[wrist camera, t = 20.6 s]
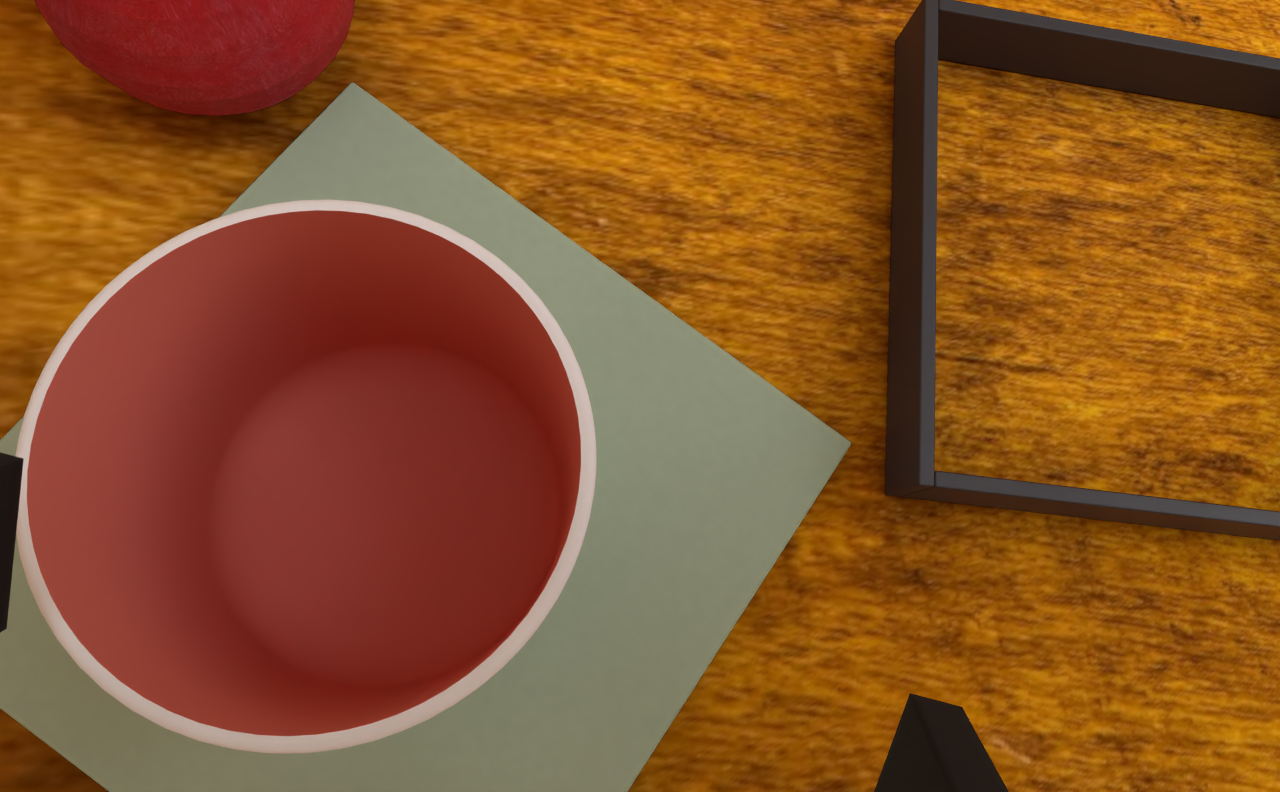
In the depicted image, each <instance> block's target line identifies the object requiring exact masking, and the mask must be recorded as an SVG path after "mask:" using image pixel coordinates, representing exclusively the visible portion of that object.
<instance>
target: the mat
mask: <svg viewBox="0 0 1280 792" xmlns="http://www.w3.org/2000/svg"><path fill="white" fill-rule="evenodd" d="M298 200H344V201H359V202H365V203H371V204H376V205H382V206H388V207H392V208H396V209H399V210H403V211H406V212H410V213H413V214H417V215H420V216H423V217H425V218H427V219H430V220H432V221H435V222H437V223H440V224H442V225H445V226H447V227H449V228H451V229H453V230H455V231H457V232H458V233H460V234H462V235H464V236H466V237H468V238H469V239H471V240H473V241H475V242H476V243H478V244H479V245H481V246H482V247H483V248H485V249H486V250H488V251H489V252H491V253H492V254H494V255H495V256H496V257H498V258H499V259H500V260H501V261H503V262H504V263H505V264H506V265H507V266H508V267H509V268H511V269H512V270H513V271H514V272H515V273H516V274H517V275H519V276H520V277H521V278H522V279H523V280H524V281H525V283H526V284H527V285H528V286H529V287H530V288H531V289H532V290H533V291H534V292H535V294H536V295H537V296H538V297H539V298H540V299H541V301H542V302H543V303H544V305H545V306H546V307H547V309H548V310H549V311H550V313H551V314H552V316H553V317H554V318H555V320H556V321H557V323H558V325H559V326H560V328H561V330H562V332H563V333H564V335H565V337H566V339H567V341H568V342H569V344H570V346H571V348H572V351H573V353H574V355H575V358H576V360H577V362H578V365H579V367H580V369H581V372H582V376H583V379H584V382H585V385H586V388H587V391H588V395H589V399H590V404H591V408H592V413H593V420H594V427H595V436H596V480H595V491H594V498H593V503H592V509H591V514H590V519H589V523H588V526H587V530H586V534H585V537H584V541H583V544H582V547H581V550H580V552H579V555H578V557H577V560H576V563H575V565H574V567H573V570H572V572H571V574H570V576H569V578H568V580H567V582H566V584H565V586H564V588H563V590H562V592H561V594H560V596H559V597H558V599H557V601H556V602H555V604H554V606H553V607H552V609H551V610H550V612H549V613H548V615H547V616H546V618H545V619H544V621H543V622H542V624H541V625H540V626H539V628H538V629H537V630H536V631H535V633H534V634H533V635H532V636H531V638H530V639H529V640H528V641H527V642H526V644H525V645H524V646H523V647H522V648H521V649H520V650H519V651H518V652H517V653H516V654H515V655H514V657H513V658H512V659H511V660H510V661H509V662H508V663H507V664H506V665H505V666H504V667H503V668H502V669H501V670H499V671H498V672H497V673H496V674H495V675H493V676H492V677H491V678H490V679H489V680H488V681H486V682H485V683H484V684H483V685H482V686H480V687H479V688H478V689H476V690H475V691H474V692H472V693H471V694H469V695H468V696H467V697H465V698H464V699H462V700H461V701H459V702H458V703H456V704H455V705H453V706H451V707H450V708H448V709H446V710H444V711H443V712H441V713H439V714H437V715H436V716H434V717H432V718H430V719H428V720H426V721H424V722H422V723H419V724H417V725H415V726H413V727H411V728H409V729H406V730H404V731H401V732H399V733H396V734H393V735H390V736H387V737H384V738H382V739H379V740H376V741H372V742H368V743H364V744H360V745H356V746H352V747H348V748H343V749H337V750H329V751H322V752H313V753H296V754H270V753H258V752H250V751H242V750H234V749H230V748H225V747H221V746H217V745H213V744H209V743H204V742H200V741H197V740H195V739H192V738H189V737H187V736H184V735H181V734H179V733H176V732H173V731H171V730H168V729H165V728H163V727H162V726H160V725H158V724H156V723H154V722H152V721H150V720H148V719H147V718H145V717H143V716H141V715H139V714H137V713H135V712H134V711H132V710H131V709H129V708H128V707H126V706H125V705H124V704H122V703H121V702H120V701H118V700H117V699H115V698H114V697H113V696H111V695H110V694H108V693H107V692H106V691H104V690H103V689H102V688H101V687H100V686H99V685H98V684H97V683H96V682H95V681H94V680H93V679H92V678H91V677H89V676H88V675H87V674H86V673H85V672H84V671H83V670H82V669H81V668H80V667H79V666H78V665H77V664H76V662H75V661H74V660H73V659H72V657H71V656H70V655H69V654H68V652H67V651H66V650H65V649H64V647H63V646H62V645H61V644H60V642H59V641H58V640H57V638H56V636H55V635H54V633H53V631H52V630H51V628H50V627H49V625H48V623H47V622H46V620H45V618H44V617H43V615H42V613H41V612H40V609H39V607H38V605H37V602H36V600H35V598H34V596H33V593H32V591H31V589H30V587H29V584H28V582H27V578H26V575H25V572H24V568H23V565H22V562H21V558H20V555H19V549H18V542H17V535H16V540H15V550H14V560H13V570H12V580H11V590H10V600H9V610H8V620H7V629H6V630H4V631H2V632H1V633H0V709H2V710H3V711H4V712H6V713H7V714H8V715H10V716H11V717H12V718H14V719H15V720H16V721H17V722H19V723H20V724H21V725H23V726H24V727H25V728H27V729H28V730H29V731H31V732H32V733H33V734H34V735H36V736H37V737H38V738H40V739H41V740H42V741H44V742H45V743H46V744H47V745H49V746H50V747H51V748H53V749H54V750H55V751H57V752H58V753H59V754H61V755H62V756H63V757H64V758H66V759H67V760H68V761H70V762H71V763H72V764H74V765H75V766H76V767H77V768H79V769H80V770H81V771H83V772H84V773H85V774H87V775H88V776H89V777H91V778H92V779H93V780H94V781H96V782H97V783H98V784H100V785H101V786H102V787H104V788H105V789H106V790H107V791H109V792H627V791H628V790H629V788H630V787H631V785H632V784H633V782H634V781H635V779H636V777H637V776H638V774H639V773H640V771H641V770H642V768H643V767H644V765H645V763H646V762H647V760H648V759H649V757H650V756H651V754H652V753H653V751H654V749H655V748H656V746H657V745H658V743H659V742H660V740H661V739H662V737H663V736H664V734H665V732H666V731H667V729H668V728H669V726H670V725H671V723H672V722H673V720H674V718H675V717H676V715H677V714H678V712H679V711H680V709H681V708H682V706H683V704H684V703H685V701H686V700H687V698H688V697H689V695H690V694H691V692H692V691H693V689H694V687H695V686H696V684H697V683H698V681H699V680H700V678H701V677H702V675H703V673H704V672H705V670H706V669H707V667H708V666H709V664H710V663H711V661H712V660H713V658H714V656H715V655H716V653H717V652H718V650H719V649H720V647H721V646H722V644H723V642H724V641H725V639H726V638H727V636H728V635H729V633H730V632H731V630H732V628H733V627H734V625H735V624H736V622H737V621H738V619H739V618H740V616H741V615H742V613H743V611H744V610H745V608H746V607H747V605H748V604H749V602H750V601H751V599H752V597H753V596H754V594H755V593H756V591H757V590H758V588H759V587H760V585H761V584H762V582H763V580H764V579H765V577H766V576H767V574H768V573H769V571H770V570H771V568H772V566H773V565H774V563H775V562H776V560H777V559H778V557H779V556H780V554H781V552H782V551H783V549H784V548H785V546H786V545H787V543H788V542H789V540H790V539H791V537H792V535H793V534H794V532H795V531H796V529H797V528H798V526H799V525H800V523H801V521H802V520H803V518H804V517H805V515H806V514H807V512H808V511H809V509H810V507H811V506H812V504H813V503H814V501H815V500H816V498H817V497H818V495H819V494H820V492H821V490H822V489H823V487H824V486H825V484H826V483H827V481H828V480H829V478H830V476H831V475H832V473H833V472H834V470H835V469H836V467H837V466H838V464H839V463H840V461H841V459H842V458H843V456H844V455H845V453H846V452H847V450H848V449H849V447H850V445H851V442H850V441H849V440H847V439H846V438H845V437H843V436H842V435H840V434H839V433H838V432H836V431H835V430H834V429H832V428H831V427H829V426H828V425H827V424H825V423H824V422H822V421H821V420H820V419H818V418H817V417H816V416H814V415H813V414H811V413H810V412H809V411H807V410H806V409H804V408H803V407H802V406H800V405H799V404H798V403H796V402H795V401H793V400H792V399H791V398H789V397H788V396H786V395H785V394H784V393H782V392H781V391H780V390H778V389H777V388H775V387H774V386H773V385H771V384H770V383H768V382H767V381H766V380H764V379H763V378H762V377H760V376H759V375H757V374H756V373H755V372H753V371H752V370H750V369H749V368H748V367H746V366H745V365H744V364H742V363H741V362H739V361H738V360H737V359H735V358H734V357H733V356H731V355H730V354H728V353H727V352H726V351H724V350H723V349H721V348H720V347H719V346H717V345H716V344H715V343H713V342H712V341H710V340H709V339H708V338H706V337H705V336H703V335H702V334H701V333H699V332H698V331H697V330H695V329H694V328H692V327H691V326H690V325H688V324H687V323H685V322H684V321H683V320H681V319H680V318H679V317H677V316H676V315H674V314H673V313H672V312H670V311H669V310H667V309H666V308H665V307H663V306H662V305H661V304H659V303H658V302H656V301H655V300H654V299H652V298H651V297H649V296H648V295H647V294H645V293H644V292H643V291H641V290H640V289H638V288H637V287H636V286H634V285H633V284H632V283H630V282H629V281H627V280H626V279H625V278H623V277H622V276H620V275H619V274H618V273H616V272H615V271H614V270H612V269H611V268H609V267H608V266H607V265H605V264H604V263H602V262H601V261H600V260H598V259H597V258H596V257H594V256H593V255H591V254H590V253H589V252H587V251H586V250H584V249H583V248H582V247H580V246H579V245H578V244H576V243H575V242H573V241H572V240H571V239H569V238H568V237H566V236H565V235H564V234H562V233H561V232H560V231H558V230H557V229H555V228H554V227H553V226H551V225H550V224H548V223H547V222H546V221H544V220H543V219H542V218H540V217H539V216H537V215H536V214H535V213H533V212H532V211H531V210H529V209H528V208H526V207H525V206H524V205H522V204H521V203H519V202H518V201H517V200H515V199H514V198H513V197H511V196H510V195H508V194H507V193H506V192H504V191H503V190H501V189H500V188H499V187H497V186H496V185H495V184H493V183H492V182H490V181H489V180H488V179H486V178H485V177H483V176H482V175H481V174H479V173H478V172H477V171H475V170H474V169H472V168H471V167H470V166H468V165H467V164H465V163H464V162H463V161H461V160H460V159H459V158H457V157H456V156H454V155H453V154H452V153H450V152H449V151H447V150H446V149H445V148H443V147H442V146H441V145H439V144H438V143H436V142H435V141H434V140H432V139H431V138H430V137H428V136H427V135H425V134H424V133H423V132H421V131H420V130H418V129H417V128H416V127H414V126H413V125H412V124H410V123H409V122H407V121H406V120H405V119H403V118H402V117H400V116H399V115H398V114H396V113H395V112H394V111H392V110H391V109H389V108H388V107H387V106H385V105H384V104H382V103H381V102H380V101H378V100H377V99H376V98H374V97H373V96H371V95H370V94H369V93H367V92H366V91H364V90H363V89H362V88H360V87H359V86H358V85H356V84H355V83H353V82H351V83H350V84H349V85H348V86H347V87H346V88H345V89H344V90H343V91H342V92H341V93H340V94H339V95H338V96H337V97H336V99H335V100H334V101H333V102H332V103H331V104H330V105H329V106H328V107H327V108H326V109H325V110H324V111H323V112H322V113H321V114H320V115H319V116H318V117H317V118H316V119H315V120H314V121H313V122H312V123H311V124H310V125H309V126H308V127H307V128H306V129H305V130H304V131H303V132H302V133H301V134H300V135H299V136H298V137H297V138H296V139H295V140H294V141H293V142H292V143H291V144H290V145H289V146H288V147H287V148H286V149H285V150H284V151H283V153H282V154H281V155H280V156H279V157H278V158H277V159H276V160H275V161H274V162H273V163H272V164H271V165H270V166H269V167H268V168H267V169H266V170H265V171H264V172H263V173H262V174H261V175H260V176H259V177H258V178H257V179H256V180H255V181H254V182H253V183H252V184H251V185H250V186H249V187H248V188H247V189H246V190H245V191H244V192H243V193H242V194H241V195H240V196H239V197H238V198H237V199H236V200H235V201H234V202H233V203H232V204H231V206H230V207H229V208H228V209H227V210H226V211H225V212H224V213H223V214H222V215H221V216H220V217H222V216H226V215H229V214H232V213H235V212H238V211H241V210H246V209H250V208H255V207H259V206H264V205H268V204H275V203H283V202H291V201H298ZM23 419H24V416H23V417H22V418H21V420H20V421H19V422H18V423H17V424H16V425H15V426H14V427H13V428H12V429H11V430H10V431H9V432H8V433H7V434H6V435H5V436H4V437H3V438H2V439H1V440H0V452H1V453H5V454H8V455H12V456H15V455H16V449H17V444H18V438H19V434H20V430H21V426H22V423H23Z"/></svg>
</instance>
